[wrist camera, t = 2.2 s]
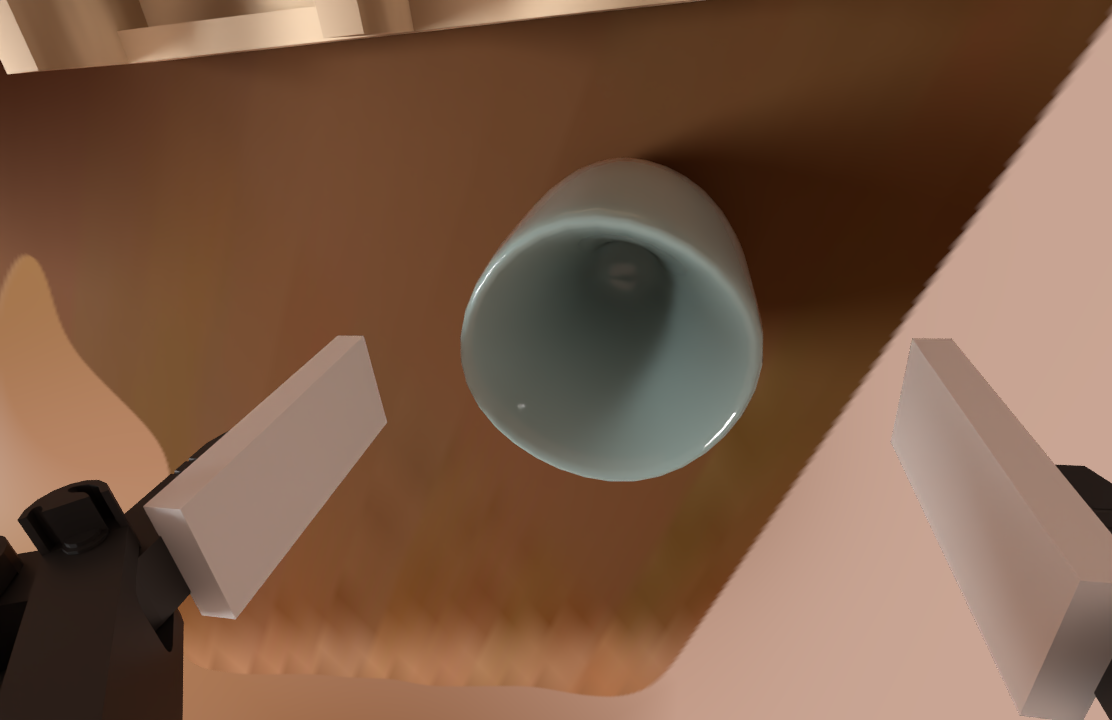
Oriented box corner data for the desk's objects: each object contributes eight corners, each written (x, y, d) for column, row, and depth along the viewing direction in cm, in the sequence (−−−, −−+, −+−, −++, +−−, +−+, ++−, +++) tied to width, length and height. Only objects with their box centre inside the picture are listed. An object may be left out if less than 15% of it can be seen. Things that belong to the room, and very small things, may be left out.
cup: (658, 360, 26) (646, 525, 18) (504, 267, 26) (413, 394, 17) (777, 210, 22) (835, 329, 14) (599, 95, 22) (543, 146, 13)
